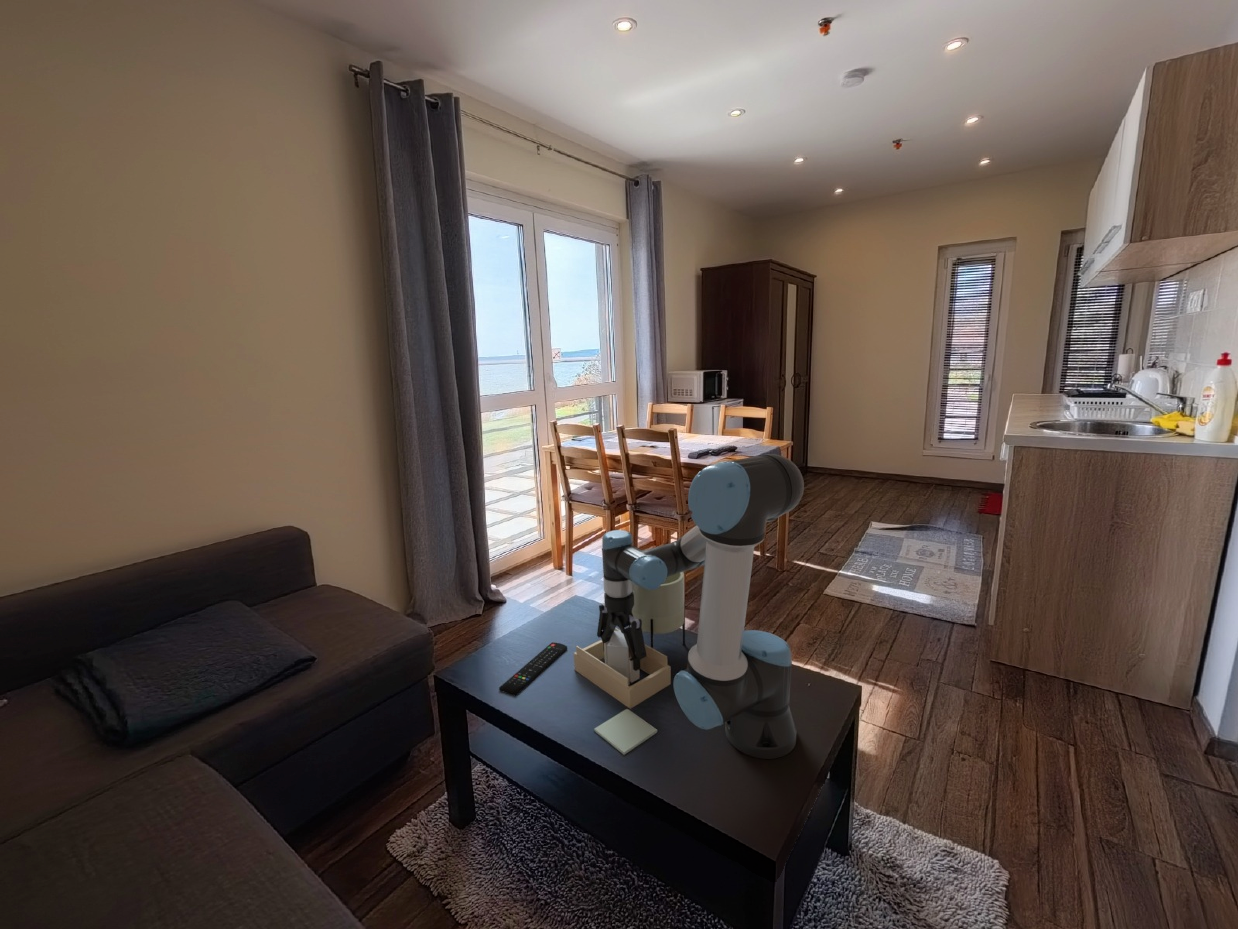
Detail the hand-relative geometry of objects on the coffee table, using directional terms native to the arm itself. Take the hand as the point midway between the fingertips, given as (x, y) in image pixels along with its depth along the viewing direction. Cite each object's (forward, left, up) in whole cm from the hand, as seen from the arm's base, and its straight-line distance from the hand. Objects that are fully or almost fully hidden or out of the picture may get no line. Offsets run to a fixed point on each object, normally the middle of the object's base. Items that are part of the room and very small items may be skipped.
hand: (621, 671), depth 142 cm
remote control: (+19, +14, -2) cm, 24 cm away
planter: (+3, -16, -2) cm, 16 cm away
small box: (0, 0, -1) cm, 1 cm away
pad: (-16, +13, -2) cm, 20 cm away
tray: (0, 0, -2) cm, 2 cm away
